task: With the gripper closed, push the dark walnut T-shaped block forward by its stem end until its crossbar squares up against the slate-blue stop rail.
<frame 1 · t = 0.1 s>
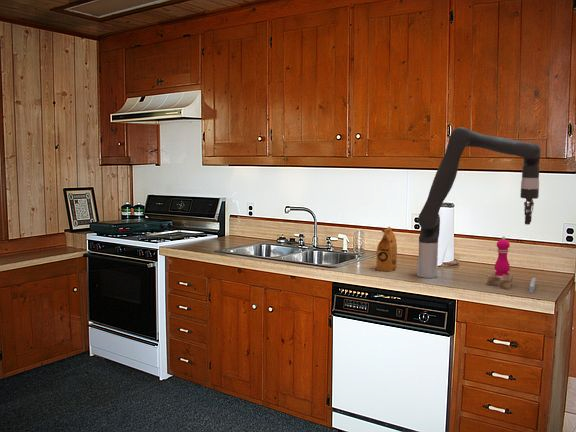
hand: (528, 223, 253), 29 cm above the countertop, tool pointing down, fingers open, 8 cm apart
stop rail: (532, 288, 252), on the countertop
pepper mill: (501, 276, 276), on the countertop
coffee package: (386, 269, 293), on the countertop
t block: (505, 286, 257), on the countertop
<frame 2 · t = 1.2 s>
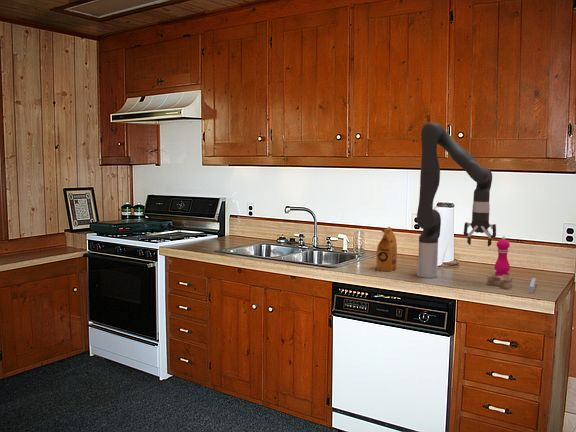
hand: (479, 245, 261), 18 cm above the countertop, tool pointing down, fingers open, 8 cm apart
nothing on the countertop moved.
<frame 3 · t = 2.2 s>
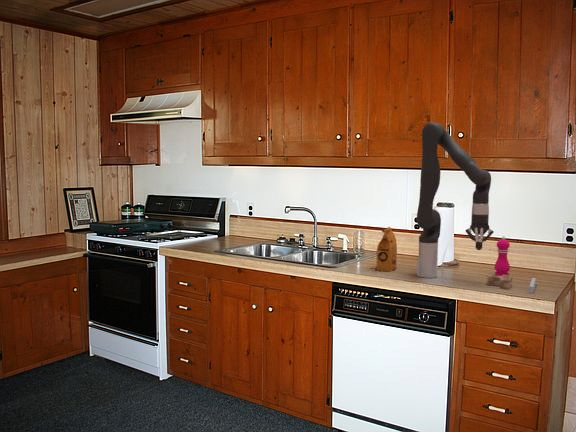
hand: (478, 249, 261), 16 cm above the countertop, tool pointing down, fingers closed
nothing on the countertop moved.
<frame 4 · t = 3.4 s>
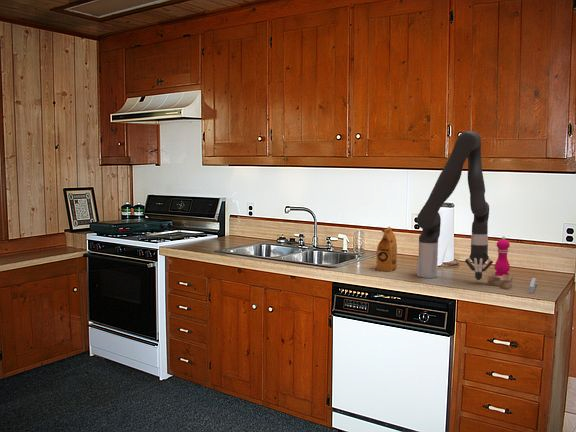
hand: (478, 279, 262), 2 cm above the countertop, tool pointing down, fingers closed
nothing on the countertop moved.
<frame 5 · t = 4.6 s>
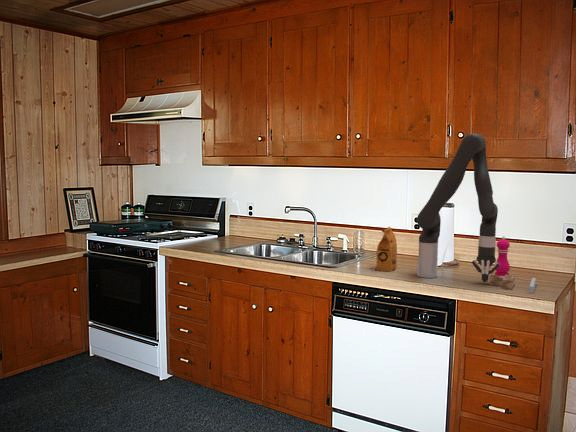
hand: (484, 281, 261), 1 cm above the countertop, tool pointing down, fingers closed
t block: (508, 286, 256), on the countertop, touching gripper
everything else where it was.
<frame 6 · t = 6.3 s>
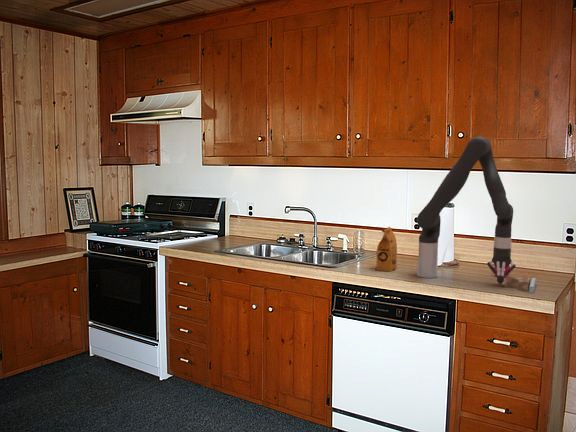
hand: (500, 283, 258), 1 cm above the countertop, tool pointing down, fingers closed
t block: (524, 287, 253), on the countertop, touching gripper
everything else where it was.
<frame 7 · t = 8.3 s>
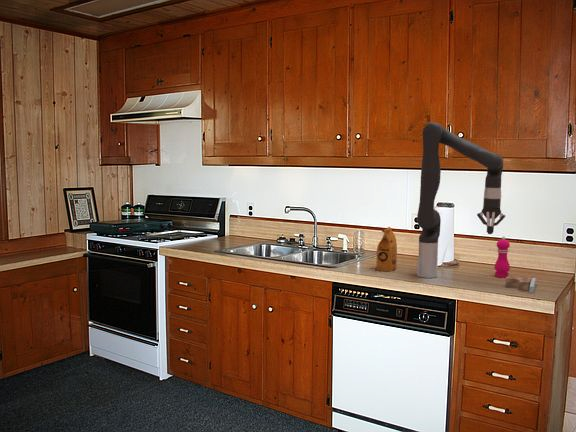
hand: (490, 233, 261), 23 cm above the countertop, tool pointing down, fingers closed
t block: (524, 287, 253), on the countertop
everything else where it was.
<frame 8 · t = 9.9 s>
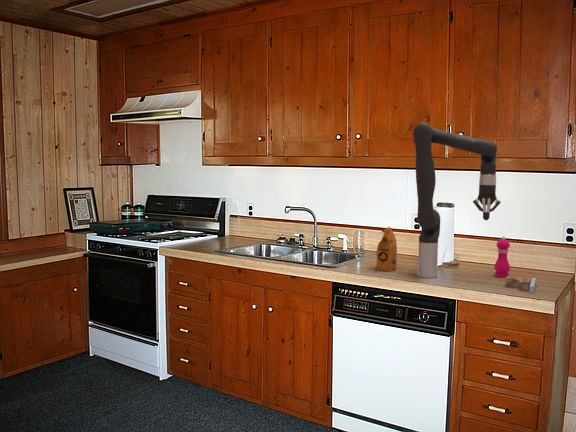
hand: (486, 220, 266), 29 cm above the countertop, tool pointing down, fingers closed
nothing on the countertop moved.
at the end: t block 0.9 cm from the target spot, on the countertop; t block tilted 1°; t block moved 7.9 cm from its start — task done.
